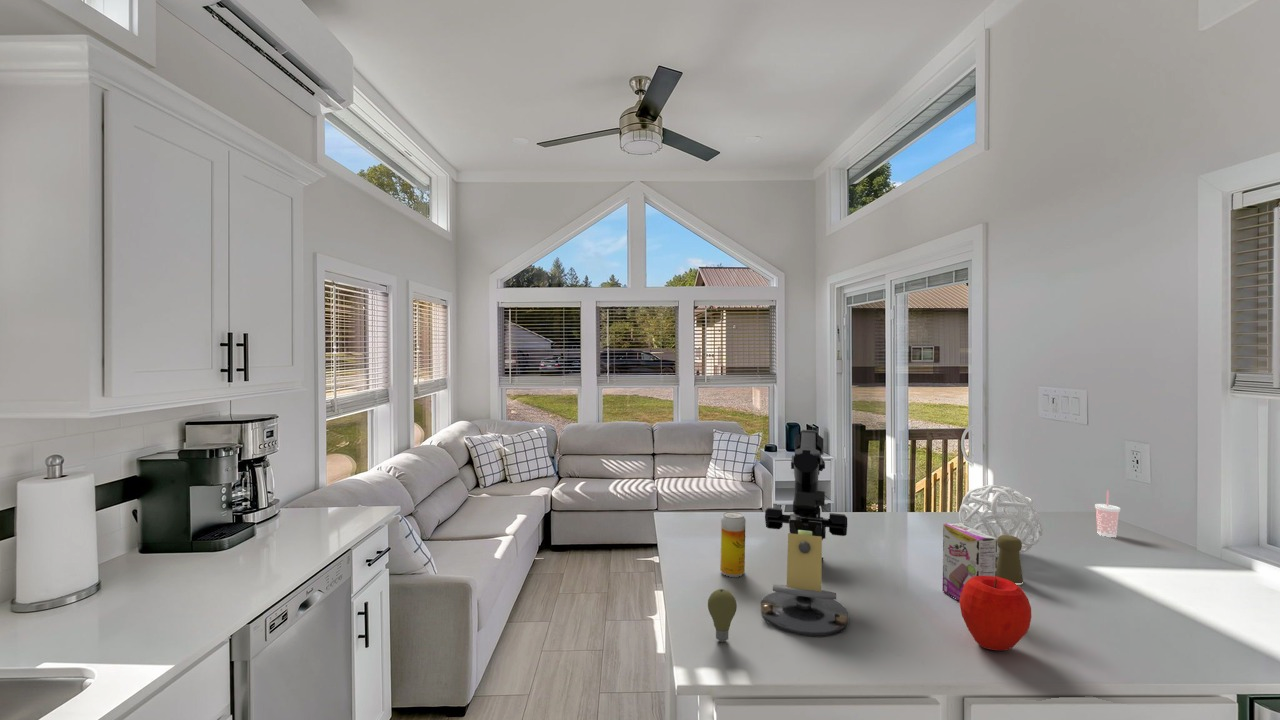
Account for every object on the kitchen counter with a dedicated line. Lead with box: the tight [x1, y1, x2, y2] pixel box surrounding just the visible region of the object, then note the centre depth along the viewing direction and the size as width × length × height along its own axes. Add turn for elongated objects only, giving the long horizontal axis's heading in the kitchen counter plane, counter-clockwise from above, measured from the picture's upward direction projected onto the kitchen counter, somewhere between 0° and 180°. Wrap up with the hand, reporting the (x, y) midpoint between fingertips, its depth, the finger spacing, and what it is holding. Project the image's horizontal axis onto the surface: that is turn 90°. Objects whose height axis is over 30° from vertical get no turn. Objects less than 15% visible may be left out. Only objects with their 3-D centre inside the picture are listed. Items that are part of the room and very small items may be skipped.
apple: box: [958, 576, 1032, 652], centre depth 107 cm, size 12×12×13 cm
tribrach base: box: [760, 591, 850, 638], centre depth 120 cm, size 19×18×4 cm
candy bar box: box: [942, 522, 998, 602], centre depth 126 cm, size 11×5×16 cm, turn 9°
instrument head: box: [772, 530, 837, 600], centre depth 122 cm, size 13×13×13 cm
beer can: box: [719, 511, 747, 578], centre depth 142 cm, size 6×6×15 cm
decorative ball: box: [958, 484, 1044, 557], centre depth 155 cm, size 20×20×19 cm
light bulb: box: [707, 588, 738, 643], centre depth 109 cm, size 6×6×10 cm
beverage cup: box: [1094, 489, 1121, 538], centre depth 173 cm, size 6×6×14 cm
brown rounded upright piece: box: [996, 535, 1024, 583], centre depth 138 cm, size 6×6×11 cm
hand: (804, 554), depth 128 cm, fingers closed
